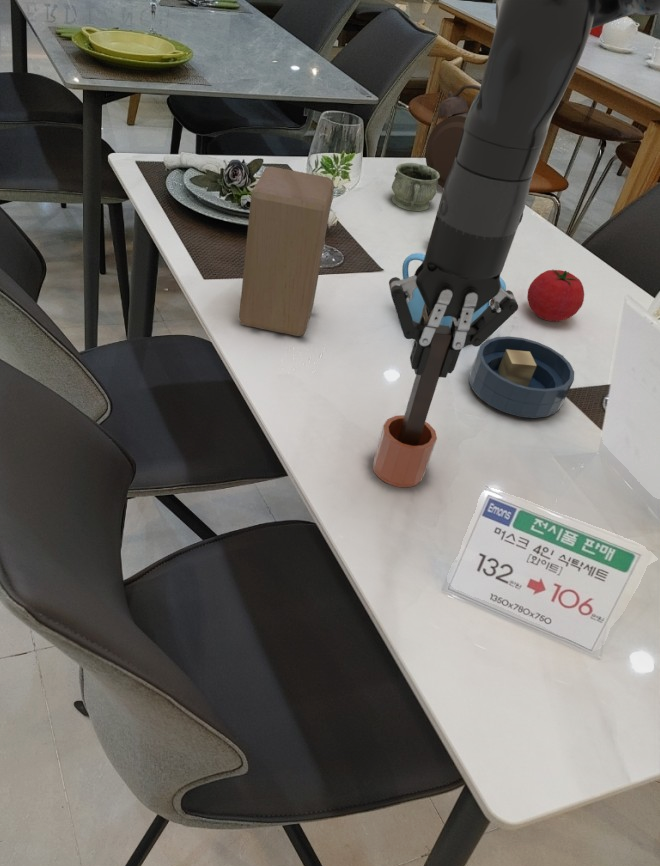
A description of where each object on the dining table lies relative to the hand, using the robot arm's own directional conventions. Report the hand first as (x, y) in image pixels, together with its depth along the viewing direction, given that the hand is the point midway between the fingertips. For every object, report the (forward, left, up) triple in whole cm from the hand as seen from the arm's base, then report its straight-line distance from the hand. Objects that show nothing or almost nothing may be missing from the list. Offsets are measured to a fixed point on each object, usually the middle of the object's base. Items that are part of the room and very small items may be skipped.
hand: (429, 371), depth 83 cm
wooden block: (+15, -33, -14) cm, 39 cm away
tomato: (-30, -43, -14) cm, 54 cm away
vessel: (-12, -83, -14) cm, 85 cm away
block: (-19, -22, -14) cm, 32 cm away
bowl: (-19, -19, -14) cm, 31 cm away
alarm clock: (-22, -92, -14) cm, 96 cm away
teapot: (-11, -37, -14) cm, 41 cm away
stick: (0, 0, -11) cm, 11 cm away
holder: (0, 0, -14) cm, 14 cm away
